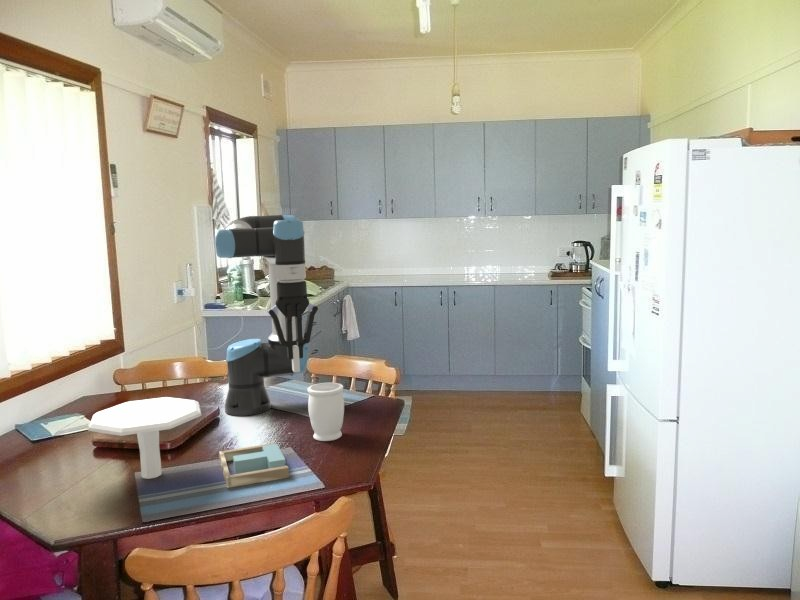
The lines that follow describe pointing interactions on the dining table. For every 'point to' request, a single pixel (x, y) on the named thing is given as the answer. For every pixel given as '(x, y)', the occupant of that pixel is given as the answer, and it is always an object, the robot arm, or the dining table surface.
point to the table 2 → (146, 425)
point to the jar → (326, 410)
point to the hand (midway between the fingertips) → (296, 370)
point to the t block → (259, 460)
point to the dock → (249, 476)
